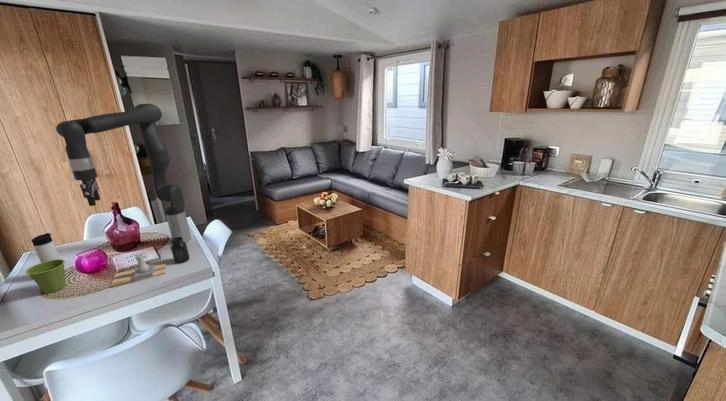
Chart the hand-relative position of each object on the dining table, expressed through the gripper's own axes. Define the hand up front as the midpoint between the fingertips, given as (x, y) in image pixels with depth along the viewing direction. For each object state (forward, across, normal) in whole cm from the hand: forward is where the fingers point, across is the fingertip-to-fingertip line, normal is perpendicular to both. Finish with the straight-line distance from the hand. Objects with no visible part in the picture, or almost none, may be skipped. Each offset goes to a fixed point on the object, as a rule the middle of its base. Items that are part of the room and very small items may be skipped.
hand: (95, 202), depth 136 cm
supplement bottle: (+33, +12, +28) cm, 45 cm away
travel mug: (+33, -7, -24) cm, 42 cm away
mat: (+33, +16, +11) cm, 38 cm away
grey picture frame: (+32, +18, +13) cm, 38 cm away
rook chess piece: (+31, +17, +13) cm, 38 cm away
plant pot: (+33, +9, -20) cm, 40 cm away
